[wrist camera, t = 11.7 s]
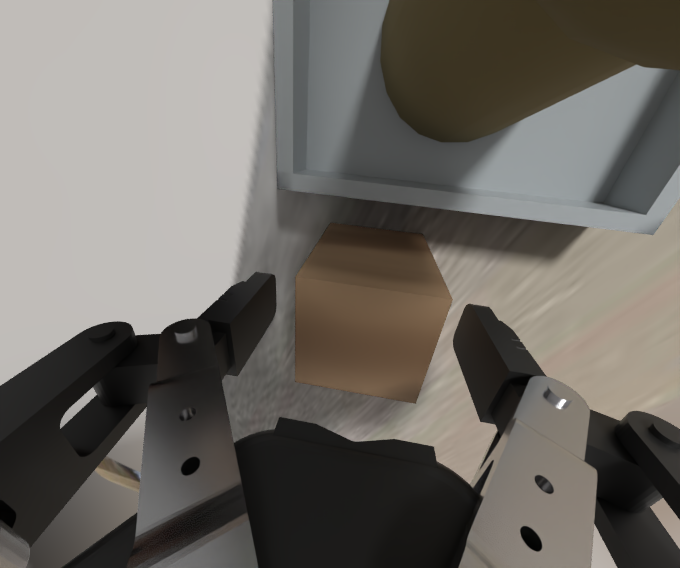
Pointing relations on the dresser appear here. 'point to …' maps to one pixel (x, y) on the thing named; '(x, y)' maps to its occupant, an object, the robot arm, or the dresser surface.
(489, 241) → the dresser surface
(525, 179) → the tray
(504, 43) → the cork
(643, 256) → the dresser surface
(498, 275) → the dresser surface
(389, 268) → the walnut block
